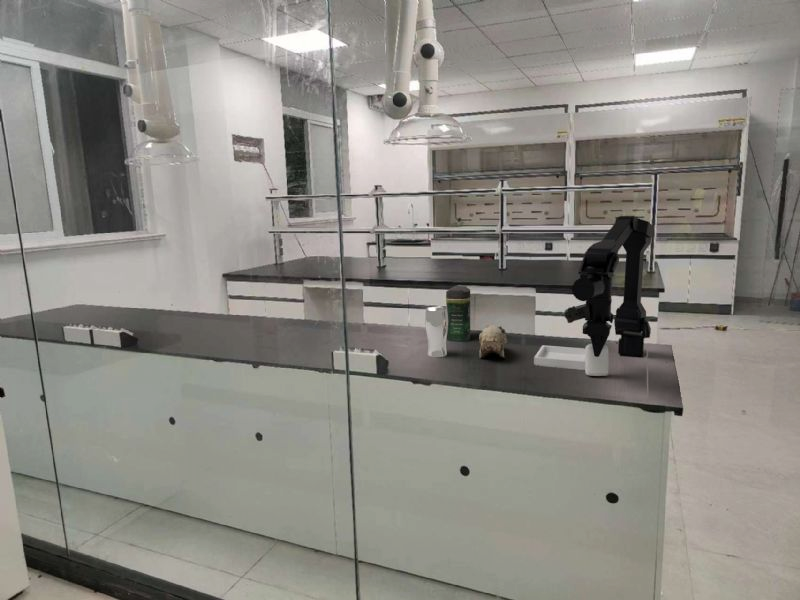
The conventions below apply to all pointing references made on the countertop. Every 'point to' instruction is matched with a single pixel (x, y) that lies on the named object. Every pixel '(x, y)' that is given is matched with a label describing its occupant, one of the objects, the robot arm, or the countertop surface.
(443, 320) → the beer glass
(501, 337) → the animal skull replica
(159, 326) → the countertop surface
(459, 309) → the coffee jar
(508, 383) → the countertop surface
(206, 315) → the countertop surface
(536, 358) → the tray
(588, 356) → the eye dropper bottle
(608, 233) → the robot arm
